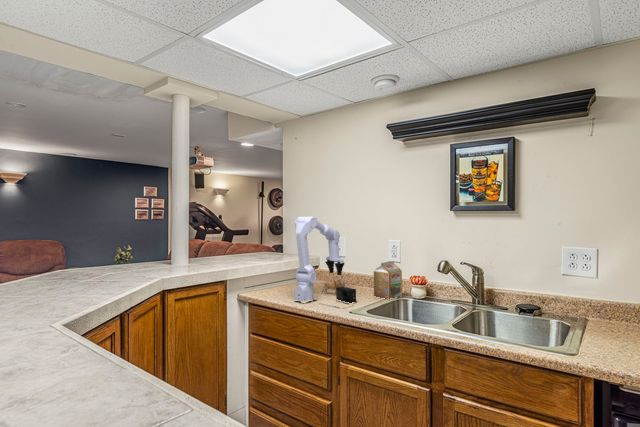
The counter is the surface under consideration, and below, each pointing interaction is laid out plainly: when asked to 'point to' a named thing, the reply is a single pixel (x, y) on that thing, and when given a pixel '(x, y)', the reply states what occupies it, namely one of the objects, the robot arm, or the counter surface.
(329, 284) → the lion figurine
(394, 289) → the milk carton
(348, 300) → the digital camera
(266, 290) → the counter surface
